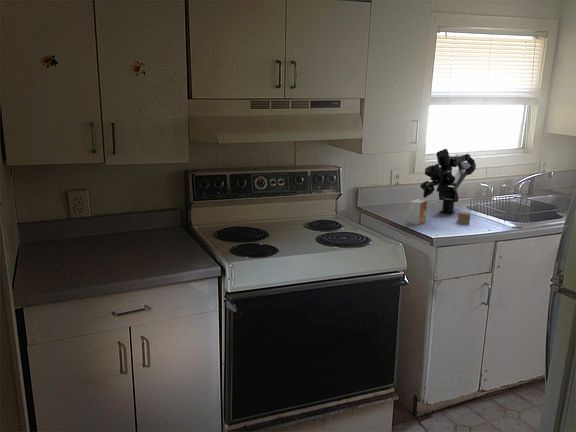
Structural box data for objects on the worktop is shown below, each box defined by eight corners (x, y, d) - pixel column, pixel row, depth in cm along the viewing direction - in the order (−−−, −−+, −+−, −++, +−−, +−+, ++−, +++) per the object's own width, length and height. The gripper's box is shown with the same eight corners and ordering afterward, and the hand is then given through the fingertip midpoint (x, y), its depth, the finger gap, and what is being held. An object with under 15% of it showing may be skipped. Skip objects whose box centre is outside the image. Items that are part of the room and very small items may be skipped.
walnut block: (457, 221, 262) (458, 211, 261) (468, 221, 261) (469, 211, 259) (458, 223, 257) (459, 213, 256) (469, 224, 256) (470, 214, 255)
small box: (418, 225, 253) (420, 203, 250) (407, 223, 256) (409, 201, 253) (425, 221, 259) (427, 200, 256) (414, 219, 262) (416, 198, 259)
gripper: (419, 168, 272) (406, 188, 264) (445, 154, 256) (432, 175, 248) (434, 183, 274) (421, 204, 266) (461, 171, 258) (448, 192, 250)
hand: (430, 194), depth 257 cm, fingers open, 9 cm apart
